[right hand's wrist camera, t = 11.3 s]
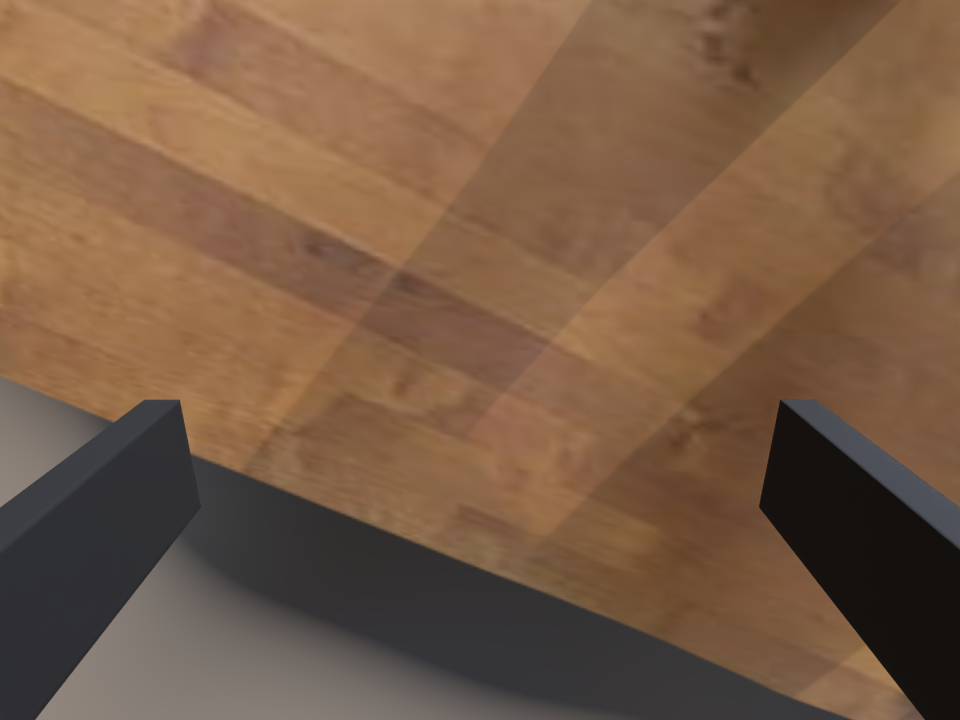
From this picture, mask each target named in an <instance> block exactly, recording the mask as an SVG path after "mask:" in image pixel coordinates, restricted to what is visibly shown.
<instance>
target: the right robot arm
mask: <svg viewBox="0 0 960 720" xmlns="http://www.w3.org/2000/svg"><path fill="white" fill-rule="evenodd" d="M200 508H201V504H200V499H199V495H198V490H197V484H196V479H195V474H194V469H193V464H192V459H191V454H190V449H189V444H188V439H187V434H186V429H185V424H184V419H183V414H182V409H181V404H180V400H144V401H142V402H141V403H140V404H138V405H137V406H136V407H134V408H133V409H132V410H130V411H129V412H128V413H126V414H125V415H124V416H122V417H121V418H120V419H118V420H117V421H116V422H114V423H113V424H112V425H110V426H109V427H108V428H106V429H105V430H104V431H102V432H101V433H100V434H98V435H97V436H96V437H94V438H93V439H92V440H90V441H89V442H88V443H86V444H85V445H84V446H82V447H81V448H79V449H78V450H77V451H75V452H74V453H73V454H71V455H70V456H69V457H67V458H66V459H65V460H63V461H62V462H61V463H59V464H58V465H57V466H55V467H54V468H53V469H51V470H50V471H49V472H47V473H46V474H45V475H43V476H42V477H41V478H39V479H38V480H37V481H35V482H34V483H33V484H31V485H30V486H29V487H27V488H26V489H25V490H23V491H22V492H21V493H19V494H18V495H17V496H15V497H14V498H13V499H11V500H10V501H9V502H7V503H6V504H5V505H3V506H2V507H0V720H35V719H36V718H37V717H38V715H39V714H40V713H41V711H42V710H43V709H44V708H45V706H46V705H47V704H48V702H49V701H50V700H51V699H52V697H53V696H54V695H55V693H56V692H57V691H58V690H59V688H60V687H61V686H62V685H63V683H64V682H65V681H66V679H67V678H68V677H69V675H70V674H71V673H72V672H73V670H74V669H75V668H76V667H77V665H78V664H79V663H80V661H81V660H82V659H83V658H84V656H85V655H86V654H87V652H88V651H89V650H90V649H91V647H92V646H93V645H94V644H95V642H96V641H97V640H98V638H99V637H100V636H101V634H102V633H103V632H104V631H105V629H106V628H107V627H108V626H109V624H110V623H111V622H112V620H113V619H114V618H115V617H116V615H117V614H118V613H119V611H120V610H121V609H122V608H123V606H124V605H125V604H126V602H127V601H128V600H129V599H130V597H131V596H132V595H133V593H134V592H135V591H136V590H137V588H138V587H139V586H140V585H141V583H142V582H143V581H144V579H145V578H146V577H147V575H148V574H149V573H150V572H151V570H152V569H153V568H154V567H155V565H156V564H157V563H158V561H159V560H160V559H161V558H162V556H163V555H164V554H165V552H166V551H167V550H168V549H169V547H170V546H171V545H172V543H173V542H174V541H175V540H176V538H177V537H178V536H179V535H180V533H181V532H182V531H183V529H184V528H185V527H186V526H187V524H188V523H189V522H190V520H191V519H192V518H193V517H194V515H195V514H196V513H197V511H198V510H199V509H200ZM759 508H760V509H761V510H762V511H763V513H764V514H765V515H766V517H767V518H768V519H769V520H770V522H771V523H772V524H773V526H774V527H775V528H776V529H777V531H778V532H779V533H780V535H781V536H782V537H783V538H784V540H785V541H786V542H787V544H788V545H789V546H790V547H791V549H792V550H793V551H794V552H795V554H796V555H797V556H798V558H799V559H800V560H801V561H802V563H803V564H804V565H805V567H806V568H807V569H808V570H809V572H810V573H811V574H812V576H813V577H814V578H815V579H816V581H817V582H818V583H819V585H820V586H821V587H822V588H823V590H824V591H825V592H826V594H827V595H828V596H829V597H830V599H831V600H832V601H833V602H834V604H835V605H836V606H837V608H838V609H839V610H840V611H841V613H842V614H843V615H844V617H845V618H846V619H847V620H848V622H849V623H850V624H851V626H852V627H853V628H854V629H855V631H856V632H857V633H858V635H859V636H860V637H861V638H862V640H863V641H864V642H865V644H866V645H867V646H868V647H869V649H870V650H871V651H872V652H873V654H874V655H875V656H876V658H877V659H878V660H879V661H880V663H881V664H882V665H883V667H884V668H885V669H886V670H887V672H888V673H889V674H890V676H891V677H892V678H893V679H894V681H895V682H896V683H897V685H898V686H899V687H900V688H901V690H902V691H903V692H904V693H905V695H906V696H907V697H908V699H909V700H910V701H911V702H912V704H913V705H914V706H915V708H916V709H917V710H918V711H919V713H920V714H921V715H922V717H923V718H924V719H925V720H960V507H958V506H957V505H955V504H954V503H953V502H951V501H950V500H949V499H947V498H946V497H945V496H943V495H942V494H941V493H939V492H938V491H937V490H935V489H934V488H933V487H931V486H930V485H929V484H927V483H926V482H925V481H923V480H922V479H921V478H919V477H918V476H917V475H915V474H914V473H913V472H911V471H910V470H909V469H907V468H906V467H905V466H903V465H902V464H901V463H899V462H898V461H897V460H895V459H894V458H893V457H891V456H890V455H889V454H887V453H886V452H885V451H883V450H882V449H881V448H879V447H878V446H877V445H875V444H874V443H872V442H871V441H870V440H868V439H867V438H866V437H864V436H863V435H862V434H860V433H859V432H858V431H856V430H855V429H854V428H852V427H851V426H850V425H848V424H847V423H846V422H844V421H843V420H842V419H840V418H839V417H838V416H836V415H835V414H834V413H832V412H831V411H830V410H828V409H827V408H826V407H824V406H823V405H822V404H820V403H819V402H818V401H816V400H780V404H779V409H778V414H777V419H776V424H775V429H774V434H773V439H772V444H771V449H770V454H769V459H768V464H767V469H766V474H765V479H764V484H763V489H762V494H761V499H760V504H759Z"/></svg>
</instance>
